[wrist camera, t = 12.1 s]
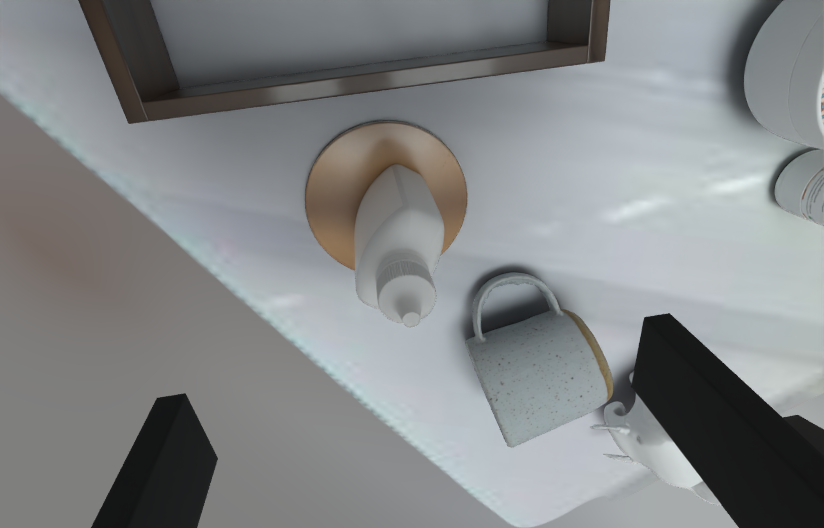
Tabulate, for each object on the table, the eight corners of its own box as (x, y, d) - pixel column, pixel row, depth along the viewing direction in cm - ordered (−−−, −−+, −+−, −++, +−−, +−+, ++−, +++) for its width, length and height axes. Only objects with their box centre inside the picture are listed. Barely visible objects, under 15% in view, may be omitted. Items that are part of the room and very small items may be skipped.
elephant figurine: (564, 385, 37) (619, 479, 30) (699, 319, 36) (796, 401, 28) (597, 447, 42) (653, 543, 34) (719, 391, 40) (807, 478, 32)
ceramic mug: (578, 355, 36) (631, 430, 29) (484, 391, 36) (513, 472, 30) (550, 247, 31) (605, 306, 24) (441, 290, 32) (465, 360, 25)
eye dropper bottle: (329, 204, 27) (315, 319, 16) (407, 152, 26) (445, 238, 15) (371, 256, 29) (382, 388, 18) (444, 209, 28) (501, 320, 17)
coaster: (288, 132, 25) (287, 135, 25) (461, 109, 26) (463, 111, 25) (324, 282, 30) (323, 287, 29) (468, 259, 31) (470, 264, 30)
